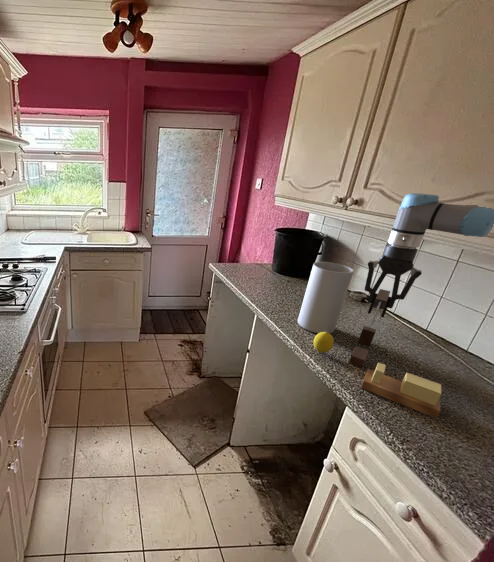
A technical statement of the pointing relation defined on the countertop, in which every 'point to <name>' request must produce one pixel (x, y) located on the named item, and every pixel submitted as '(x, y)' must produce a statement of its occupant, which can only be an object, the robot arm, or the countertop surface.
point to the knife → (380, 301)
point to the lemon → (323, 342)
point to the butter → (421, 389)
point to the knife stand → (360, 353)
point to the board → (398, 394)
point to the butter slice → (378, 373)
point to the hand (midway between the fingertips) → (376, 313)
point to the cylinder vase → (324, 296)
